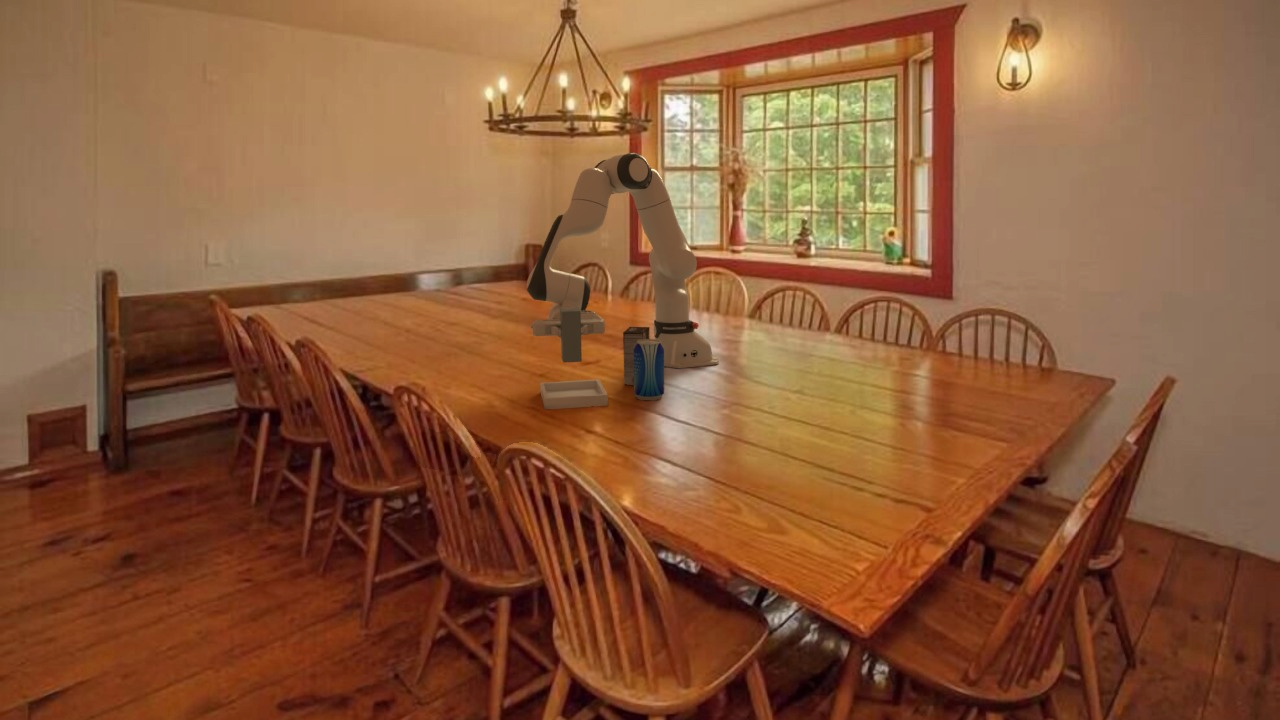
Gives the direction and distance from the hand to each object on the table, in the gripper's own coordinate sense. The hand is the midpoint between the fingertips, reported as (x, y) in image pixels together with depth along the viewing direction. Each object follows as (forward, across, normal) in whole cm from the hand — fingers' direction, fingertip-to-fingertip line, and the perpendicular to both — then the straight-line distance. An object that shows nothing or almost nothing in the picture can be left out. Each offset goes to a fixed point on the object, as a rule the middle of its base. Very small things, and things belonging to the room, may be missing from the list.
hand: (571, 332), depth 214 cm
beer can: (+2, +21, +19) cm, 29 cm away
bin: (-1, 0, +19) cm, 19 cm away
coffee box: (-16, +21, +19) cm, 33 cm away
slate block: (-1, 0, +8) cm, 8 cm away
